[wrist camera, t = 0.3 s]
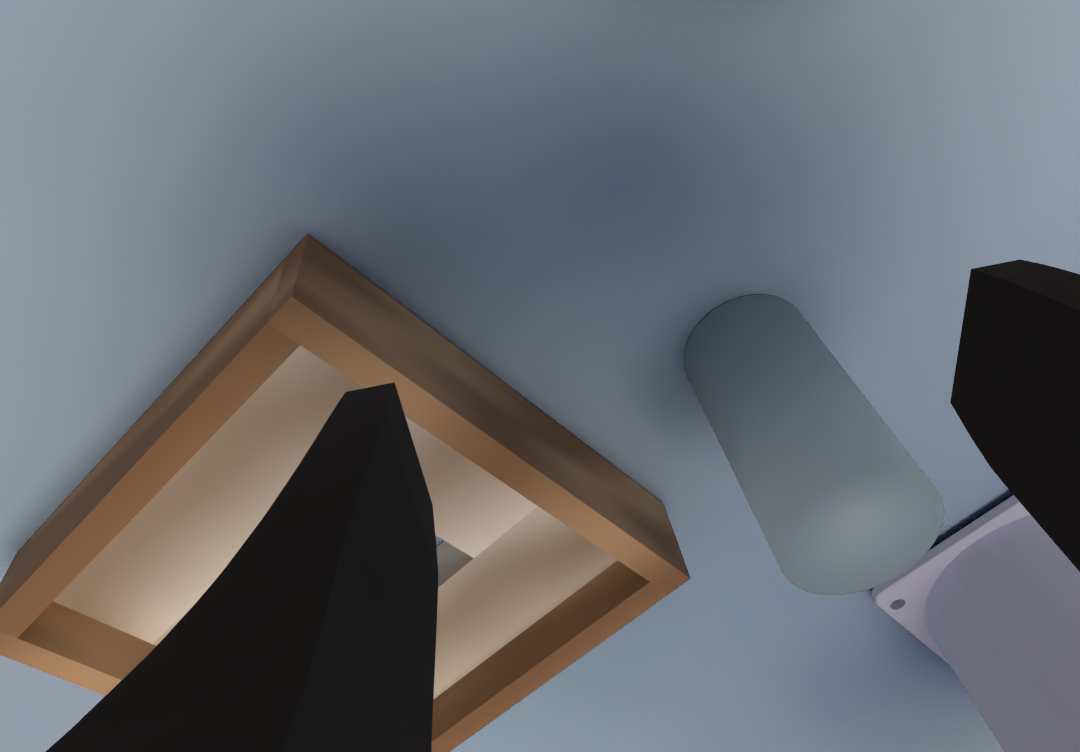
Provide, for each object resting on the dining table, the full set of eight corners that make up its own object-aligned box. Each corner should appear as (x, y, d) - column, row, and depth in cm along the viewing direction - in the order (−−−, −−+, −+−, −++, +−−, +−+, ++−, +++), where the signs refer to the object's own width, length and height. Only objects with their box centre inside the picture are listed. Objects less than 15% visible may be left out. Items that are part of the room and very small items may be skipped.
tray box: (663, 503, 25) (690, 578, 23) (382, 718, 29) (379, 801, 27) (307, 233, 19) (291, 296, 17) (16, 554, 23) (-32, 642, 21)
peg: (831, 345, 23) (973, 526, 17) (733, 422, 24) (835, 617, 18) (760, 269, 21) (890, 441, 15) (658, 355, 22) (744, 545, 16)
